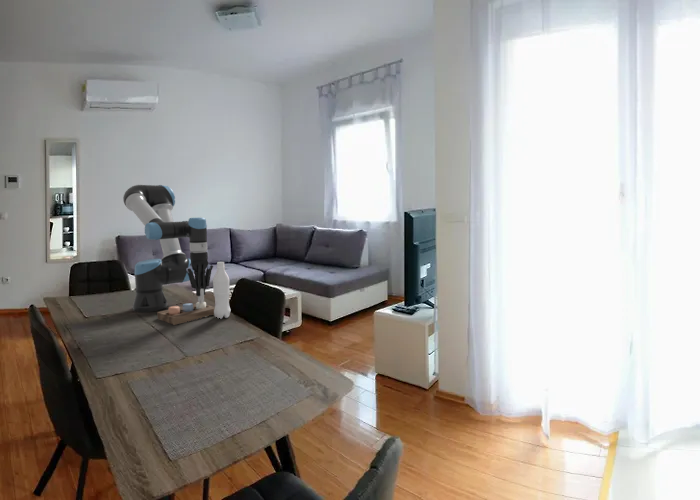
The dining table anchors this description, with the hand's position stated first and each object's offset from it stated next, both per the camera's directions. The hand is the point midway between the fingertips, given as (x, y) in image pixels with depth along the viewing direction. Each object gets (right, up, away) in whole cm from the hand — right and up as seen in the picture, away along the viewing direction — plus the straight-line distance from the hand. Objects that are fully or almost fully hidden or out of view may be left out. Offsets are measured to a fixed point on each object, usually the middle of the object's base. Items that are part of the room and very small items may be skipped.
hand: (201, 302), depth 190 cm
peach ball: (-8, -5, -9) cm, 14 cm away
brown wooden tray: (-4, -6, -4) cm, 8 cm away
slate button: (-4, -4, -4) cm, 8 cm away
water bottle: (+11, -6, -5) cm, 14 cm away
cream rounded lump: (0, -4, +1) cm, 4 cm away
